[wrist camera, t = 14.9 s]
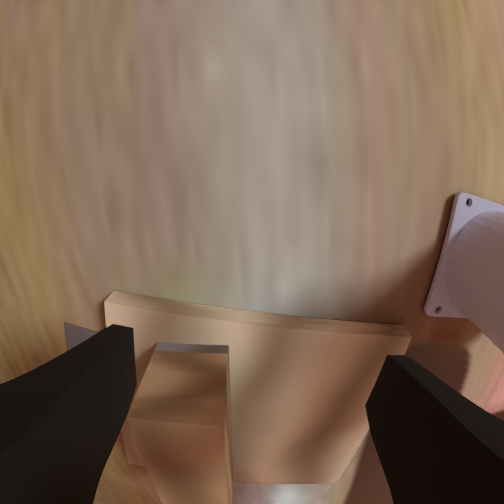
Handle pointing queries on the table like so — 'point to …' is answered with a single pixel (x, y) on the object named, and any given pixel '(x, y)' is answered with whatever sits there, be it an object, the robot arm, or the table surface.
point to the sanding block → (186, 423)
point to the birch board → (273, 381)
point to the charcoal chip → (76, 335)
